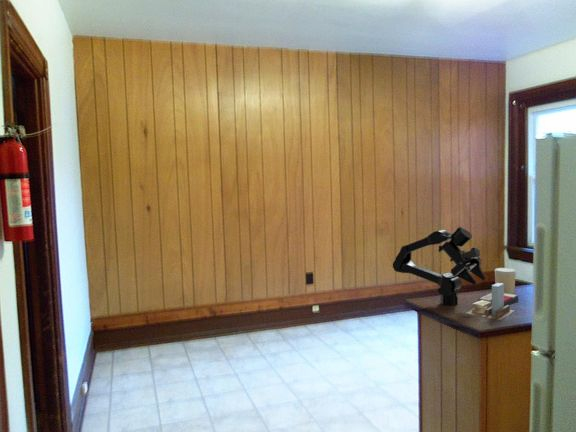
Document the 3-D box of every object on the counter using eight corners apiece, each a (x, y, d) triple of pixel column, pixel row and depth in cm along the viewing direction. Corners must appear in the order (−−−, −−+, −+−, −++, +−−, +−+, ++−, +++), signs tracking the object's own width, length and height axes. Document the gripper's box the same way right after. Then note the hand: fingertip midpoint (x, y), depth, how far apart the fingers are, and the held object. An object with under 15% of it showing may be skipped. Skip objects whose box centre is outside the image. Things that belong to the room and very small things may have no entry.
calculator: (477, 297, 205) (494, 289, 214) (478, 307, 205) (494, 298, 215) (502, 302, 196) (518, 294, 205) (502, 312, 197) (518, 303, 206)
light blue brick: (491, 314, 188) (491, 285, 187) (497, 310, 192) (497, 282, 191) (497, 315, 186) (497, 286, 185) (503, 312, 190) (503, 283, 189)
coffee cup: (507, 291, 226) (508, 267, 225) (520, 296, 217) (520, 271, 216) (490, 292, 225) (490, 268, 224) (501, 297, 215) (502, 272, 214)
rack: (465, 315, 191) (465, 307, 190) (481, 307, 202) (481, 299, 201) (499, 322, 181) (499, 314, 180) (515, 313, 192) (515, 304, 191)
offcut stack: (471, 311, 192) (471, 303, 192) (480, 306, 198) (480, 299, 198) (484, 314, 188) (484, 306, 188) (493, 309, 195) (493, 301, 194)
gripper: (457, 244, 189) (484, 274, 182) (477, 238, 202) (502, 266, 195) (440, 261, 195) (465, 290, 188) (459, 254, 208) (484, 281, 201)
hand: (480, 281), depth 193 cm, fingers open, 9 cm apart
